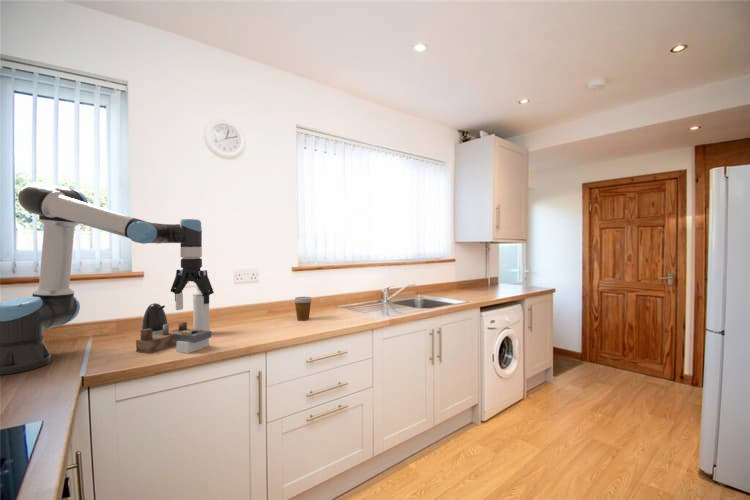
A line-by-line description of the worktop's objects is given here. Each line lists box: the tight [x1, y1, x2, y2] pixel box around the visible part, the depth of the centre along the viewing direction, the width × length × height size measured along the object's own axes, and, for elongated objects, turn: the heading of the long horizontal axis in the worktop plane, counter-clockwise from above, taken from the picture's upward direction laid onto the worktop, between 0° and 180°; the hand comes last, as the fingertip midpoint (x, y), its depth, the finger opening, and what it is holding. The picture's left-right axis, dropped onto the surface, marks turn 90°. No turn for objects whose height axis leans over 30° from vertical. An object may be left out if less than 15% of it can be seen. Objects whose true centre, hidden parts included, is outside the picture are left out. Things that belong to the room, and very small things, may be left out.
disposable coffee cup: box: [293, 296, 312, 322], centre depth 187 cm, size 10×10×12 cm
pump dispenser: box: [141, 302, 169, 335], centre depth 155 cm, size 10×10×15 cm
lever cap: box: [174, 328, 212, 343], centre depth 136 cm, size 8×11×4 cm
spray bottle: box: [192, 285, 211, 331], centre depth 158 cm, size 7×7×25 cm
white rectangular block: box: [175, 338, 210, 354], centre depth 136 cm, size 10×6×4 cm, turn 160°
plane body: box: [135, 321, 191, 354], centre depth 141 cm, size 20×7×8 cm, turn 160°
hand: (192, 310), depth 136 cm, fingers open, 13 cm apart
